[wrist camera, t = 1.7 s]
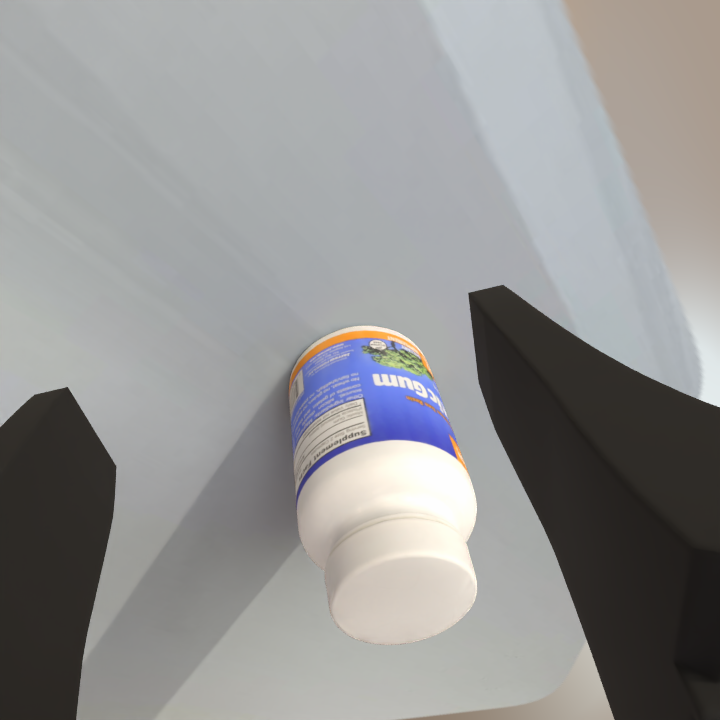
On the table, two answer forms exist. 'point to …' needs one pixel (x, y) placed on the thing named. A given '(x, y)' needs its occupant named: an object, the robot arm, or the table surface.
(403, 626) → the pill bottle
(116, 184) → the table surface
